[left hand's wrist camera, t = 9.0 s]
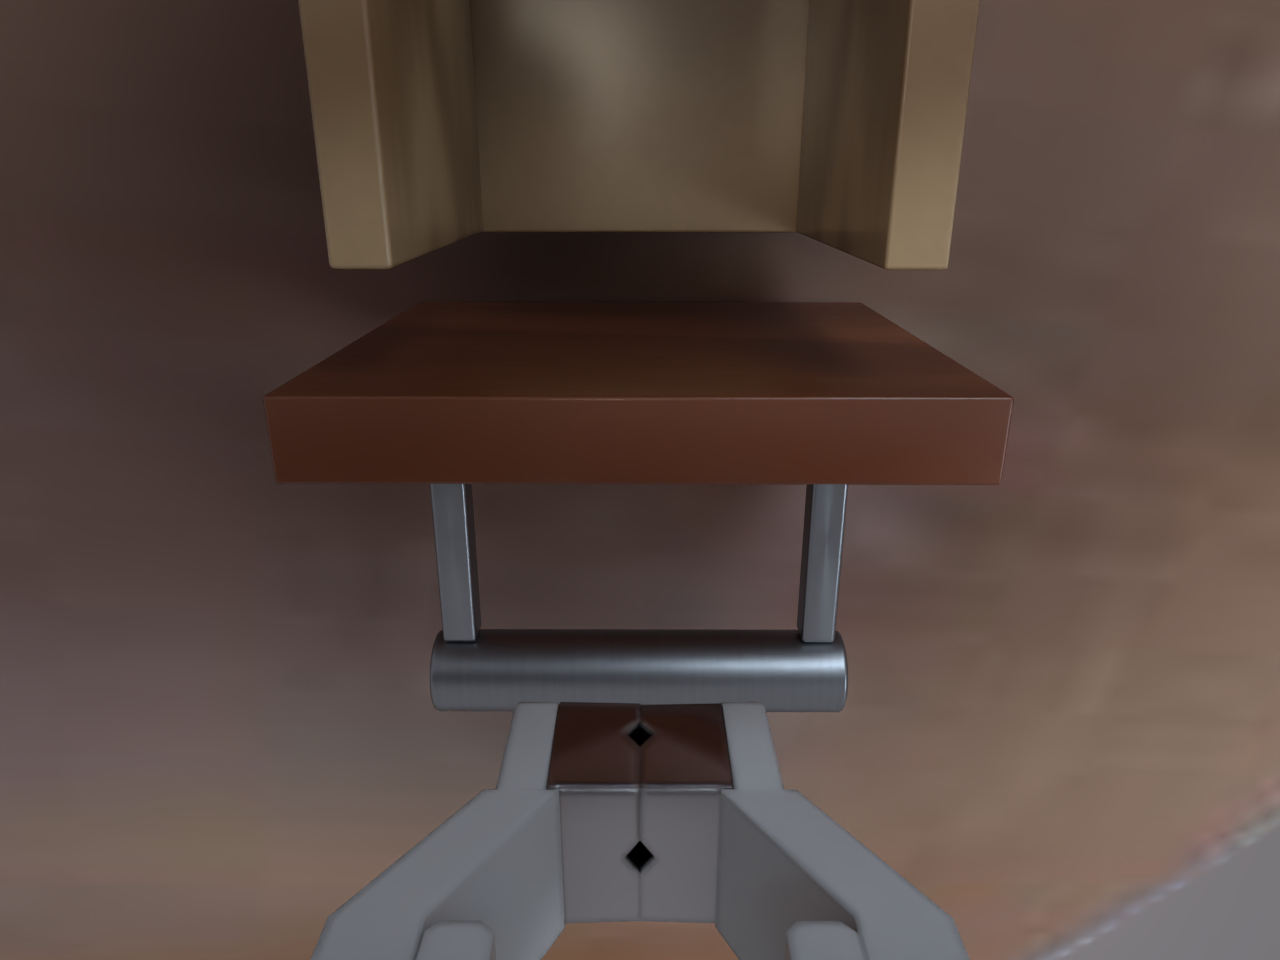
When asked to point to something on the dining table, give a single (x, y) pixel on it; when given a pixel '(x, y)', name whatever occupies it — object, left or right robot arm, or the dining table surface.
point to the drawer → (638, 331)
